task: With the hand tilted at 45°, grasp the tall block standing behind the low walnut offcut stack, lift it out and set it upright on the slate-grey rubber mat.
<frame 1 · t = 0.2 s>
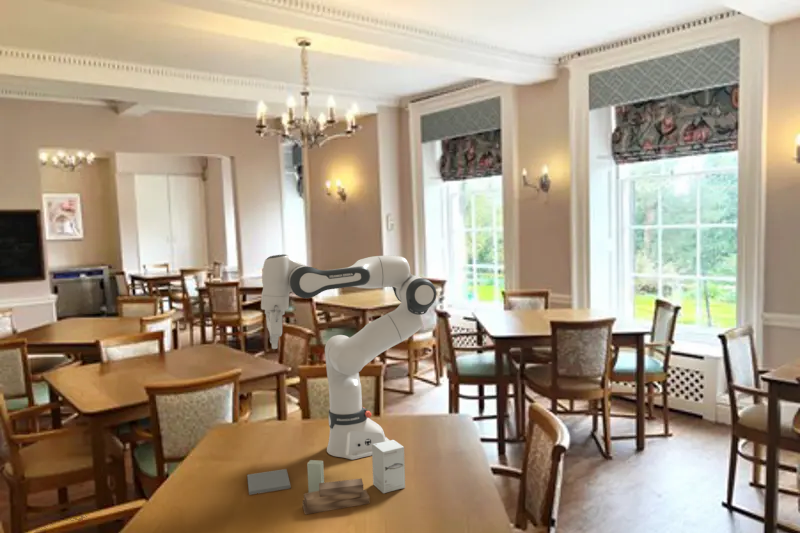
hand: (273, 345, 192), 39 cm above the table, tool pointing down, fingers open, 8 cm apart
supplement box: (389, 487, 173), on the table
tall block: (316, 491, 171), on the table
offcut stack: (336, 505, 163), on the table
slate mat: (268, 482, 178), on the table
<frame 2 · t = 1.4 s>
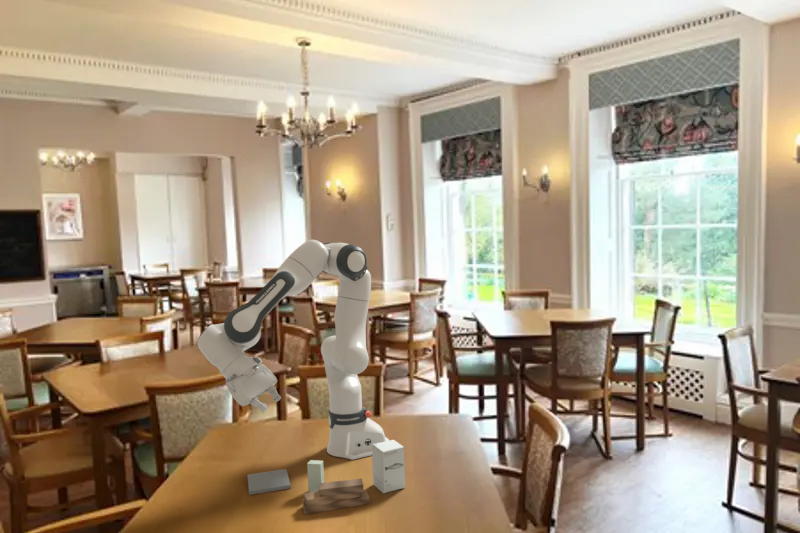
hand: (272, 405, 172), 26 cm above the table, tool tilted 45°, fingers open, 8 cm apart
nothing on the table moved.
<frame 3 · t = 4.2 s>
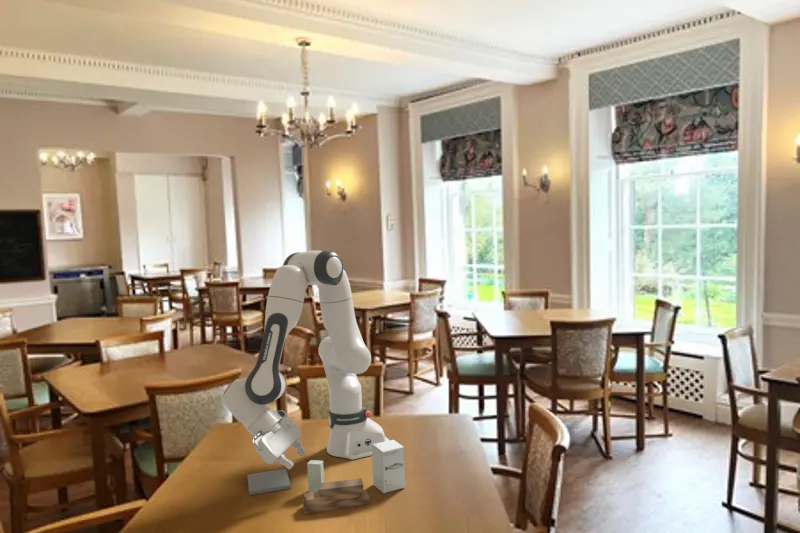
hand: (298, 460, 171), 9 cm above the table, tool tilted 45°, fingers open, 8 cm apart
nothing on the table moved.
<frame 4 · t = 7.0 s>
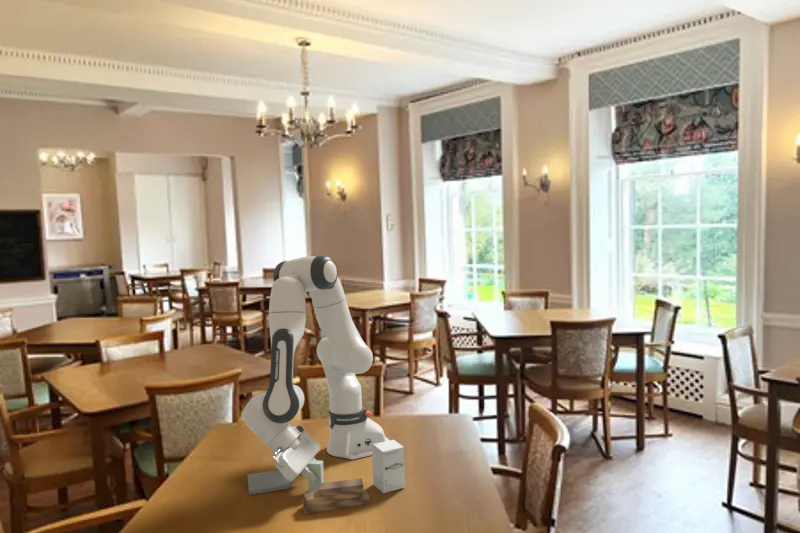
hand: (318, 476, 171), 5 cm above the table, tool tilted 45°, fingers closed on tall block, 2 cm apart
tall block: (316, 491, 171), on the table, touching gripper
everything else where it was.
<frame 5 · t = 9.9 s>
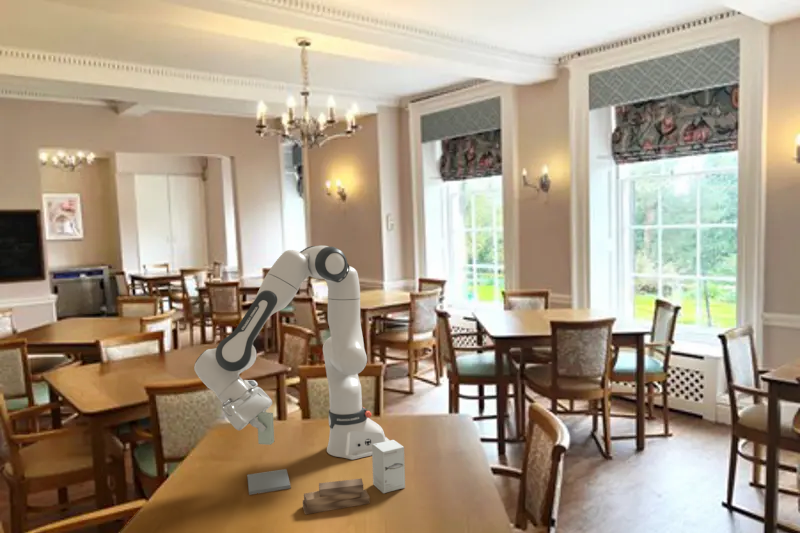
hand: (267, 427, 176), 17 cm above the table, tool tilted 45°, fingers closed on tall block, 2 cm apart
tall block: (266, 442, 177), point 13 cm above the table, touching gripper
everything else where it was.
when the fingers open (7 cm above the table, at t = 12.8 s): tall block drops 1 cm, resting on slate mat.
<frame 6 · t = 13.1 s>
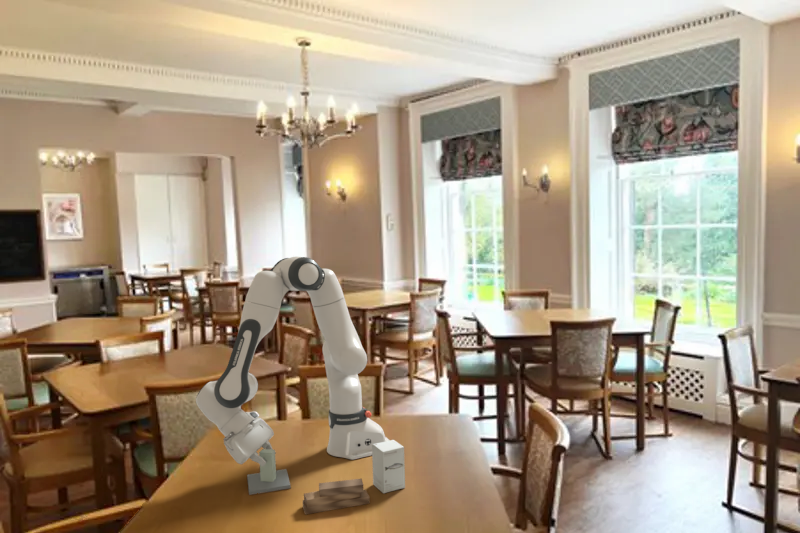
hand: (269, 459, 177), 7 cm above the table, tool tilted 45°, fingers open, 5 cm apart
tall block: (268, 479, 178), point 1 cm above the table, touching slate mat
everything else where it was.
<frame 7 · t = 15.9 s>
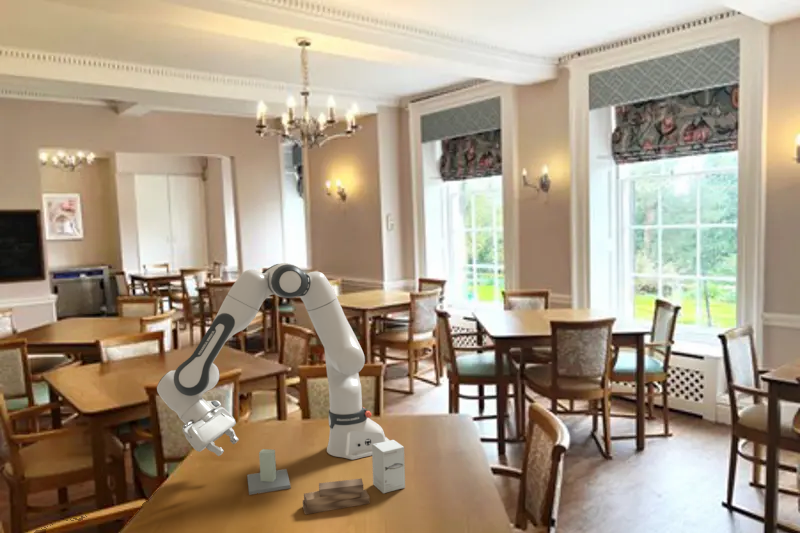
hand: (229, 447, 180), 10 cm above the table, tool tilted 45°, fingers open, 8 cm apart
nothing on the table moved.
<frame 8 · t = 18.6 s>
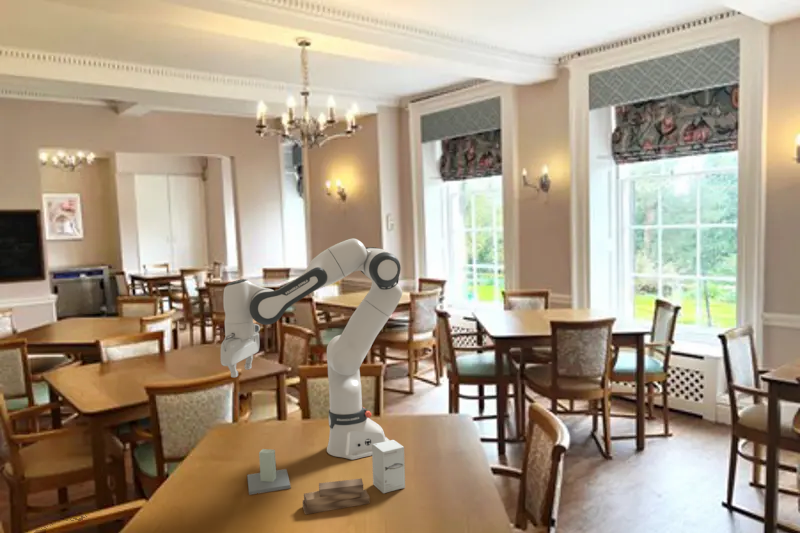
hand: (241, 372, 188), 31 cm above the table, tool pointing down, fingers open, 8 cm apart
nothing on the table moved.
at the end: tall block inside the target area on the slate mat (0.0 cm from its centre), point 1.0 cm above the slate mat's base; tall block tilted 0°; the gripper is holding nothing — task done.
